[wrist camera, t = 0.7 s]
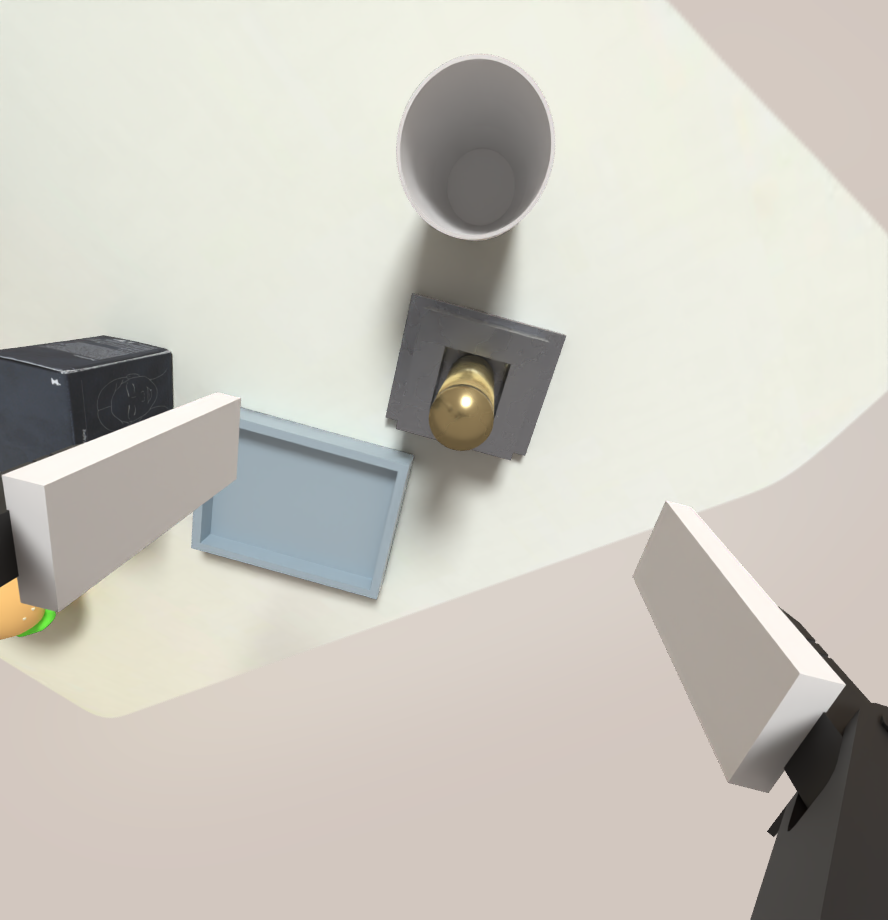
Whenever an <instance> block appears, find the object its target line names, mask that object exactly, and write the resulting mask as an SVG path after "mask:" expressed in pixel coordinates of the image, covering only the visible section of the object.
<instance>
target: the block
mask: <svg viewBox="0 0 888 920" xmlns="http://www.w3.org/2000/svg"><path fill="white" fill-rule="evenodd" d="M565 338H566V335H564V334H561V333H557V332H554V331H550V330H546V329H543V328H539V327H536V326H532V325H528V324H525V323H521V322H517V321H514V320H510V319H506V318H503V317H499V316H495V315H492V314H488V313H485V312H481V311H477V310H474V309H470V308H466V307H463V306H459V305H455V304H452V303H448V302H444V301H441V300H437V299H434V298H430V297H426V296H423V295H419V294H415V293H412V297H411V302H410V306H409V311H408V316H407V320H406V325H405V330H404V334H403V339H402V344H401V348H400V353H399V357H398V362H397V367H396V371H395V376H394V381H393V385H392V390H391V395H390V399H389V404H388V409H387V413H386V417H387V418H390V419H394V420H398V422H397V426H396V429H399V430H403V431H406V432H410V433H413V434H417V435H421V436H424V437H428V438H431V439H435V440H437V439H436V438H435V437H434V435H433V433H432V432H431V429H430V425H429V412H430V409H431V406H432V404H433V402H434V400H435V398H436V396H437V394H438V392H439V390H440V389H441V387H442V385H443V383H444V381H445V379H446V377H447V375H448V373H449V371H450V369H451V367H452V366H453V364H454V363H455V362H456V361H457V360H459V359H460V358H462V357H465V356H471V355H472V356H478V357H481V358H483V359H484V360H486V361H487V362H488V363H489V364H490V366H491V367H492V369H493V372H494V423H493V428H492V431H491V433H490V435H489V437H488V438H487V439H486V440H485V441H484V442H483V443H482V444H481V445H479V446H478V447H476V448H473V449H471V450H475V451H479V452H482V453H486V454H489V455H493V456H497V457H500V458H504V459H508V460H511V458H512V455H513V453H517V454H521V455H524V456H525V454H526V451H527V448H528V445H529V443H530V440H531V437H532V434H533V431H534V428H535V425H536V422H537V419H538V416H539V413H540V411H541V408H542V405H543V402H544V399H545V396H546V393H547V390H548V387H549V384H550V381H551V379H552V376H553V373H554V370H555V367H556V364H557V361H558V358H559V355H560V352H561V349H562V347H563V344H564V341H565Z"/></svg>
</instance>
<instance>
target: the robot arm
mask: <svg viewBox="0 0 888 920" xmlns="http://www.w3.org/2000/svg"><path fill="white" fill-rule="evenodd" d="M240 407H241V398H239V397H235V396H231V395H227V394H223V393H219V392H216V393H213V394H210V395H208V396H205V397H203V398H200V399H197V400H195V401H192V402H190V403H187V404H185V405H182V406H179V407H177V408H174V409H172V410H169V411H166V412H164V413H161V414H159V415H156V416H154V417H151V418H148V419H146V420H143V421H141V422H138V423H135V424H133V425H130V426H128V427H125V428H122V429H120V430H117V431H115V432H112V433H110V434H107V435H104V436H102V437H99V438H97V439H94V440H91V441H89V442H86V443H82V444H76V445H71V446H68V447H66V448H63V449H61V450H58V451H55V452H53V453H50V456H48V455H45V456H42V457H40V458H37V459H34V460H33V462H26V463H24V464H21V465H18V466H16V467H13V468H11V469H8V470H5V471H3V472H0V587H2V586H4V585H5V584H7V583H8V582H10V581H12V580H13V579H15V578H17V581H18V588H19V595H20V602H21V603H24V604H28V605H32V606H35V607H39V608H43V609H47V610H51V611H55V612H60V611H61V610H62V609H64V608H65V607H66V606H68V605H69V604H70V603H72V602H73V601H74V600H76V599H77V598H78V597H80V596H81V595H82V594H84V593H85V592H86V591H88V590H89V589H90V588H92V587H93V586H94V585H96V584H97V583H98V582H100V581H101V580H102V579H104V578H105V577H106V576H108V575H109V574H110V573H112V572H113V571H114V570H116V569H117V568H118V567H120V566H121V565H122V564H124V563H125V562H126V561H128V560H129V559H130V558H132V557H133V556H134V555H136V554H137V553H138V552H140V551H141V550H142V549H144V548H145V547H146V546H148V545H149V544H150V543H152V542H153V541H154V540H156V539H157V538H158V537H160V536H161V535H162V534H164V533H165V532H166V531H168V530H169V529H170V528H172V527H173V526H174V525H176V524H177V523H178V522H180V521H181V520H182V519H184V518H185V517H186V516H188V515H189V514H190V513H192V512H193V511H194V510H196V509H197V508H198V507H200V506H201V505H202V504H204V503H205V502H206V501H208V500H209V499H210V498H212V497H213V496H214V495H216V494H217V493H218V492H220V491H221V490H222V489H224V488H225V487H226V486H228V485H229V484H230V483H232V482H233V481H234V480H236V479H237V461H238V443H239V425H240ZM633 578H634V580H635V583H636V585H637V587H638V589H639V591H640V593H641V595H642V598H643V600H644V602H645V604H646V606H647V609H648V611H649V613H650V615H651V617H652V619H653V622H654V623H655V626H656V628H657V630H658V632H659V635H660V637H661V639H662V641H663V643H664V645H665V647H666V650H667V652H668V654H669V656H670V658H671V660H672V663H673V665H674V667H675V669H676V671H677V673H678V675H679V677H680V680H681V682H682V684H683V686H684V688H685V691H686V693H687V695H688V697H689V699H690V701H691V704H692V706H693V708H694V710H695V712H696V714H697V717H698V719H699V721H700V723H701V725H702V728H703V730H704V732H705V734H706V736H707V738H708V740H709V742H710V745H711V747H712V749H713V751H714V754H715V756H716V758H717V760H718V762H719V764H720V766H721V769H722V771H723V773H724V775H725V777H726V779H727V782H728V783H731V784H735V785H739V786H743V787H747V788H751V789H755V790H759V791H763V792H766V793H769V791H770V790H771V789H772V787H773V786H774V784H775V783H776V782H777V780H778V779H779V778H780V776H781V775H782V773H783V772H784V771H786V773H787V775H788V776H789V778H790V780H791V781H792V783H793V785H794V786H795V788H796V790H797V792H796V794H795V795H794V796H793V798H792V799H791V800H790V802H789V803H788V804H787V806H786V807H785V808H784V810H783V811H782V813H781V814H780V815H779V816H778V818H777V819H776V820H775V822H774V823H773V824H772V826H771V827H770V828H769V830H768V831H767V832H768V833H770V834H771V835H772V836H773V837H774V836H775V835H776V834H777V833H778V834H777V838H776V841H775V844H774V847H773V850H772V853H771V856H770V860H769V863H768V866H767V869H766V872H765V876H764V879H763V882H762V885H761V888H760V891H759V894H758V897H757V901H756V904H755V907H754V910H753V913H752V917H751V920H888V707H887V706H883V705H880V704H877V703H871V702H870V701H869V700H868V699H867V698H866V697H865V696H864V694H863V693H862V692H861V691H860V690H859V689H858V688H857V687H856V686H855V684H854V683H853V682H852V681H851V680H850V679H849V678H848V677H847V675H846V674H845V673H844V672H843V671H842V670H841V669H840V668H839V666H838V665H837V664H836V663H835V662H834V661H833V660H832V659H831V658H828V654H827V653H826V652H825V651H824V650H823V649H822V647H821V646H820V645H819V644H816V643H815V639H814V638H813V637H812V636H811V635H810V634H809V633H808V632H807V631H806V629H805V628H804V627H803V626H802V625H801V624H800V623H799V622H798V621H796V620H795V619H794V618H793V617H791V616H790V615H789V614H787V613H786V612H785V611H784V610H782V609H781V608H780V607H778V606H777V605H776V604H775V603H774V602H773V600H772V599H771V598H770V597H769V596H768V595H767V594H766V592H765V591H764V590H763V589H762V588H761V587H760V585H759V584H758V583H757V582H756V581H755V580H754V579H753V577H752V576H751V575H750V574H749V573H748V572H747V571H746V569H745V568H744V567H743V566H742V565H741V564H740V562H739V561H738V560H737V559H736V558H735V557H734V556H733V555H732V554H731V552H730V551H729V550H728V549H727V548H726V546H725V545H724V544H723V543H722V542H721V541H720V539H719V538H718V537H717V536H716V535H715V534H714V533H713V531H712V530H711V529H710V528H709V527H708V526H707V524H705V522H704V521H703V520H702V519H701V518H700V516H699V515H698V514H697V513H696V512H695V511H694V509H693V508H692V507H690V506H686V505H682V504H678V503H673V502H669V501H665V504H664V506H663V508H662V511H661V513H660V515H659V517H658V520H657V522H656V524H655V526H654V529H653V531H652V534H651V536H650V538H649V540H648V543H647V545H646V547H645V549H644V552H643V554H642V556H641V558H640V561H639V563H638V565H637V568H636V570H635V572H634V574H633Z"/></svg>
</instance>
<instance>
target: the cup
mask: <svg viewBox="0 0 888 920" xmlns="http://www.w3.org/2000/svg"><path fill="white" fill-rule="evenodd" d="M554 155H555V130H554V123H553V118H552V114H551V111H550V108H549V105H548V103H547V100H546V98H545V96H544V94H543V93H542V91H541V89H540V88H539V86H538V85H537V83H536V82H535V81H534V80H533V79H532V77H531V76H530V75H529V74H528V73H527V72H525V71H524V70H523V69H522V68H521V67H519V66H518V65H516V64H515V63H513V62H511V61H509V60H507V59H504V58H502V57H499V56H495V55H489V54H470V55H464V56H460V57H457V58H454V59H452V60H450V61H448V62H446V63H444V64H442V65H441V66H439V67H438V68H436V69H435V70H434V71H432V72H431V73H430V74H429V75H428V76H427V77H426V78H425V79H424V80H423V81H422V82H421V83H420V84H419V86H418V87H417V88H416V90H415V91H414V93H413V94H412V96H411V97H410V99H409V101H408V103H407V105H406V107H405V110H404V112H403V115H402V118H401V121H400V125H399V130H398V135H397V146H396V156H397V167H398V172H399V177H400V180H401V184H402V186H403V189H404V191H405V194H406V196H407V198H408V200H409V201H410V203H411V205H412V206H413V208H414V209H415V210H416V212H417V213H418V214H419V215H420V216H421V217H422V218H423V219H424V220H425V221H426V222H427V223H428V224H429V225H431V226H432V227H433V228H435V229H437V230H438V231H440V232H442V233H444V234H447V235H449V236H452V237H456V238H460V239H464V240H470V241H481V240H488V239H492V238H495V237H497V236H500V235H502V234H504V233H505V232H507V231H509V230H510V229H512V228H513V227H514V226H515V225H516V224H518V223H519V222H520V221H521V220H522V219H523V218H524V217H525V216H526V215H527V214H528V213H529V212H530V211H531V210H532V208H533V207H534V206H535V204H536V203H537V202H538V200H539V199H540V197H541V195H542V193H543V191H544V189H545V187H546V185H547V183H548V180H549V177H550V174H551V171H552V166H553V162H554Z"/></svg>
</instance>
